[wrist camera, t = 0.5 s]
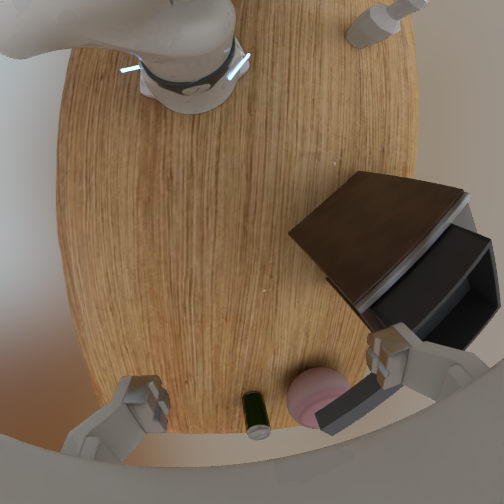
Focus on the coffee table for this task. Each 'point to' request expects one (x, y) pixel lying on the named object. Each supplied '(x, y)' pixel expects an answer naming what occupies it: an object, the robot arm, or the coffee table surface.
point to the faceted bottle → (381, 22)
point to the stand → (378, 233)
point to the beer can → (256, 416)
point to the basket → (429, 312)
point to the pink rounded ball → (314, 393)
